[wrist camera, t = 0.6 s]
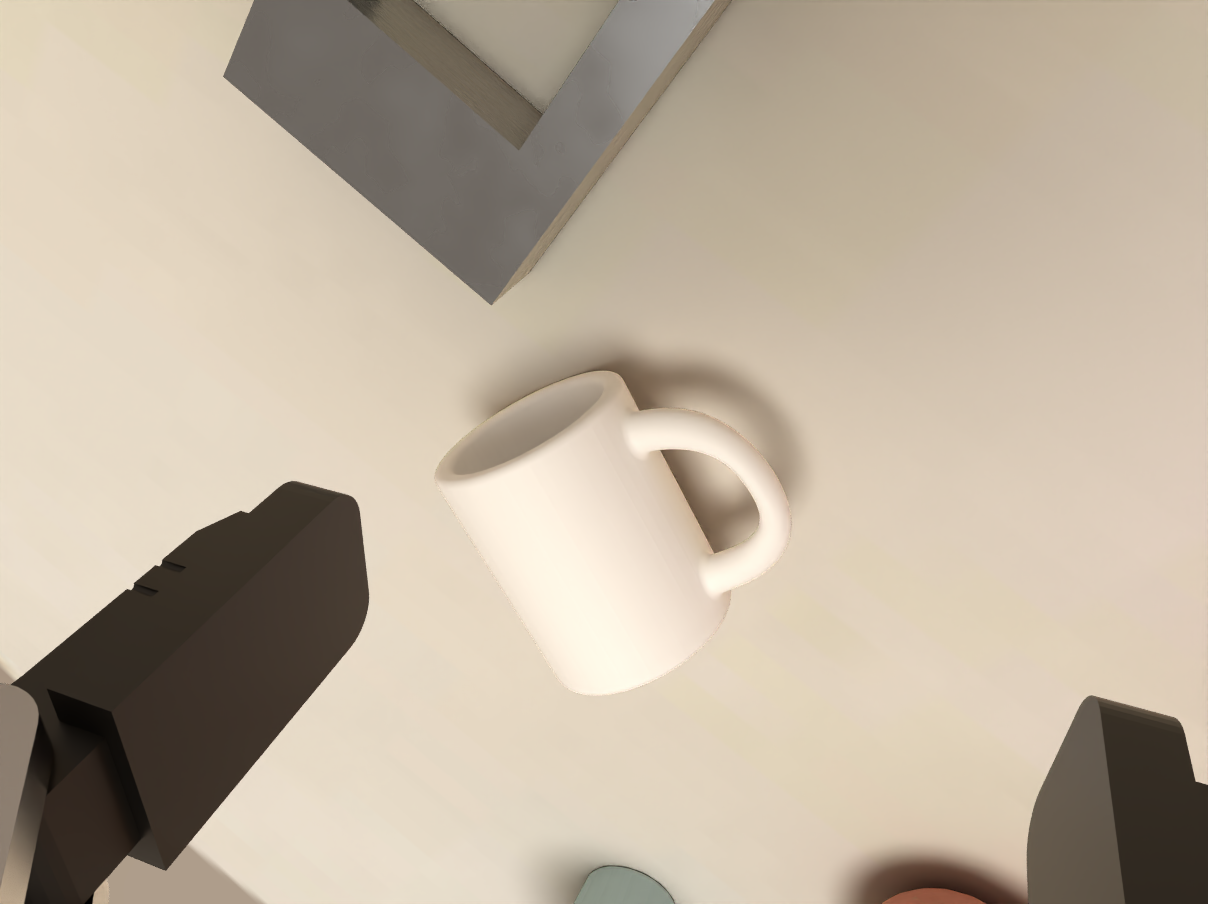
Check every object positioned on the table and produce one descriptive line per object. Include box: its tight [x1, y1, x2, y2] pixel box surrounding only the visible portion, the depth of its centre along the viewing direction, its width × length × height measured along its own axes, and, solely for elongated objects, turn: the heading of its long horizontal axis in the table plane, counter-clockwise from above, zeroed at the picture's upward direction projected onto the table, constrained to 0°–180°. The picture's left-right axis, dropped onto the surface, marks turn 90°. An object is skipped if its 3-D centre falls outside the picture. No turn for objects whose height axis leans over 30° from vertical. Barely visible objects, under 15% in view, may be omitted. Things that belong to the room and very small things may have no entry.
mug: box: [435, 371, 792, 696], centre depth 36 cm, size 12×10×8 cm
